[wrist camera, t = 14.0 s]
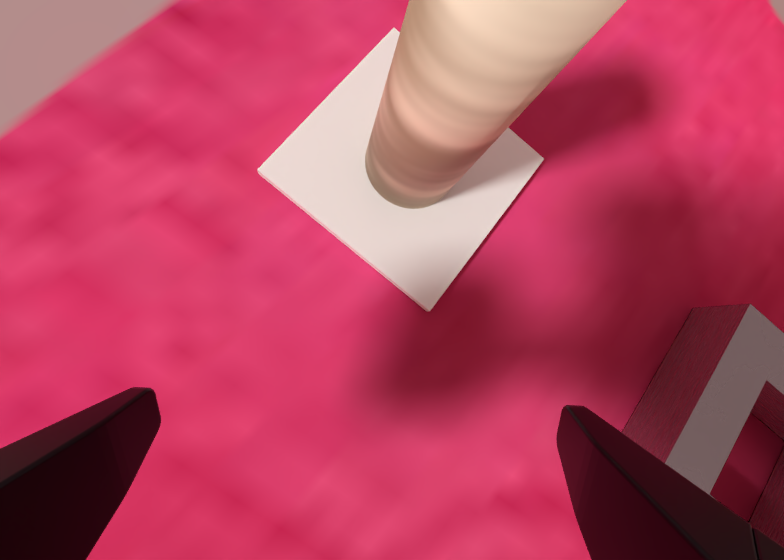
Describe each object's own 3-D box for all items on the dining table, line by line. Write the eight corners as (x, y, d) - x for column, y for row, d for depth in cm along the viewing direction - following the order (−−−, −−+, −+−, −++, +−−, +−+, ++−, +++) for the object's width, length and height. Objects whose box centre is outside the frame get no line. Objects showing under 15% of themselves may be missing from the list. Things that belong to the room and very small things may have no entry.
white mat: (427, 311, 20) (430, 311, 19) (258, 173, 19) (257, 169, 19) (539, 162, 22) (544, 159, 21) (391, 34, 21) (393, 27, 21)
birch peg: (456, 210, 20) (702, -6, 7) (365, 207, 19) (466, -43, 7) (453, 124, 21) (675, -214, 8) (364, 117, 20) (455, -271, 7)
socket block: (754, 617, 21) (826, 663, 18) (591, 485, 20) (639, 511, 17) (835, 431, 23) (910, 445, 20) (693, 307, 23) (750, 303, 20)
